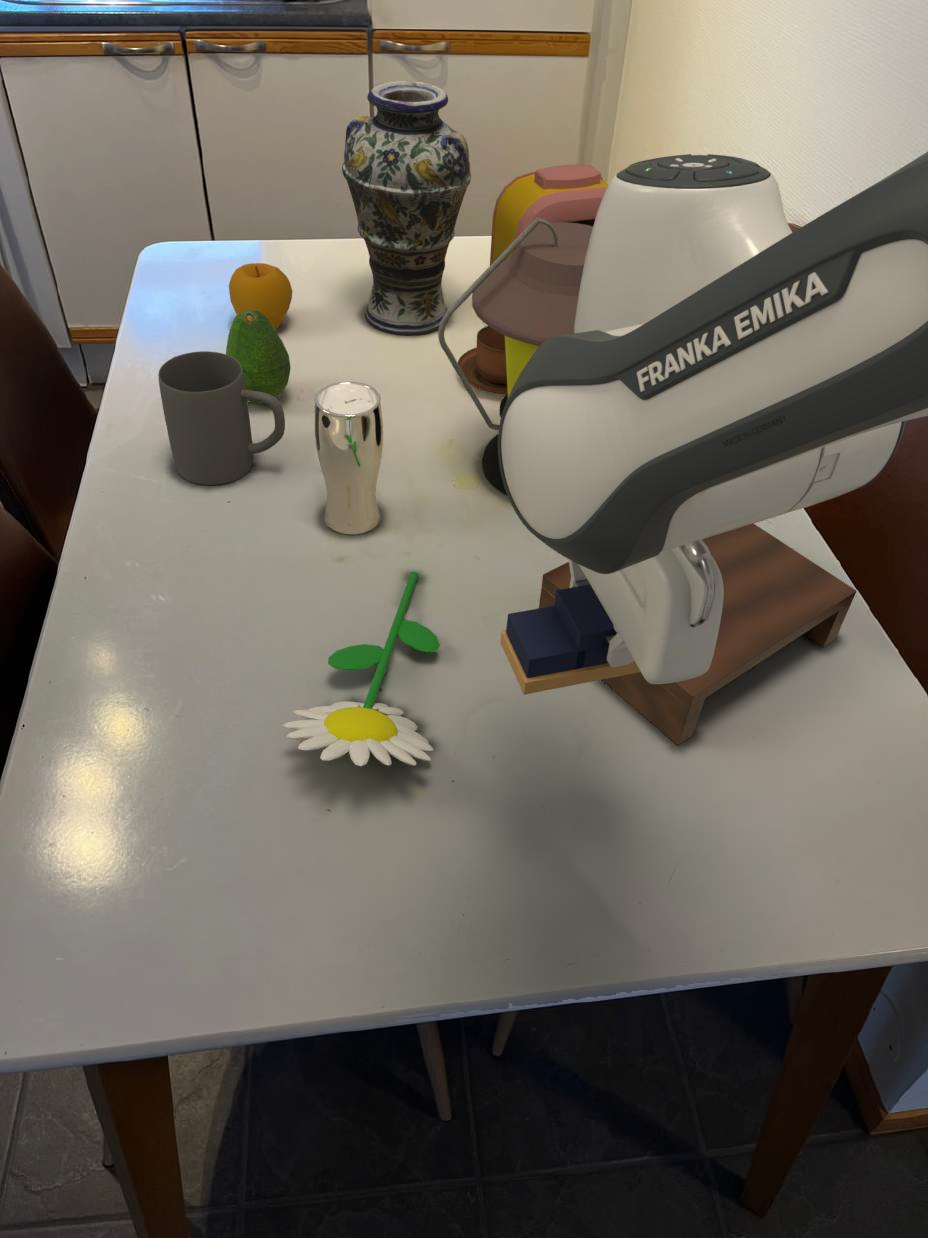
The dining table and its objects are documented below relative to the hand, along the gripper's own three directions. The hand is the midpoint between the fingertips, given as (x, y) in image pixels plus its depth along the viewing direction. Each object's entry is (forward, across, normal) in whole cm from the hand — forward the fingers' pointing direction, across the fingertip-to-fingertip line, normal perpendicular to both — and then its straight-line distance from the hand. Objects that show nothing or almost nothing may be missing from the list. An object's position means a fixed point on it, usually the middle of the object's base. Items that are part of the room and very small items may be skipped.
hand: (599, 627), depth 65 cm
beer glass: (+22, +43, +8) cm, 49 cm away
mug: (+22, +55, +20) cm, 63 cm away
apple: (+22, +89, +11) cm, 92 cm away
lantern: (+22, +47, -16) cm, 54 cm away
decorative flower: (+22, +18, +11) cm, 30 cm away
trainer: (+2, 0, 0) cm, 2 cm away
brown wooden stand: (+21, +17, -20) cm, 34 cm away
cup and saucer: (+22, +68, -17) cm, 73 cm away
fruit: (+22, +69, +15) cm, 74 cm away
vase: (+22, +88, -9) cm, 91 cm away
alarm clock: (+22, +87, -32) cm, 96 cm away
